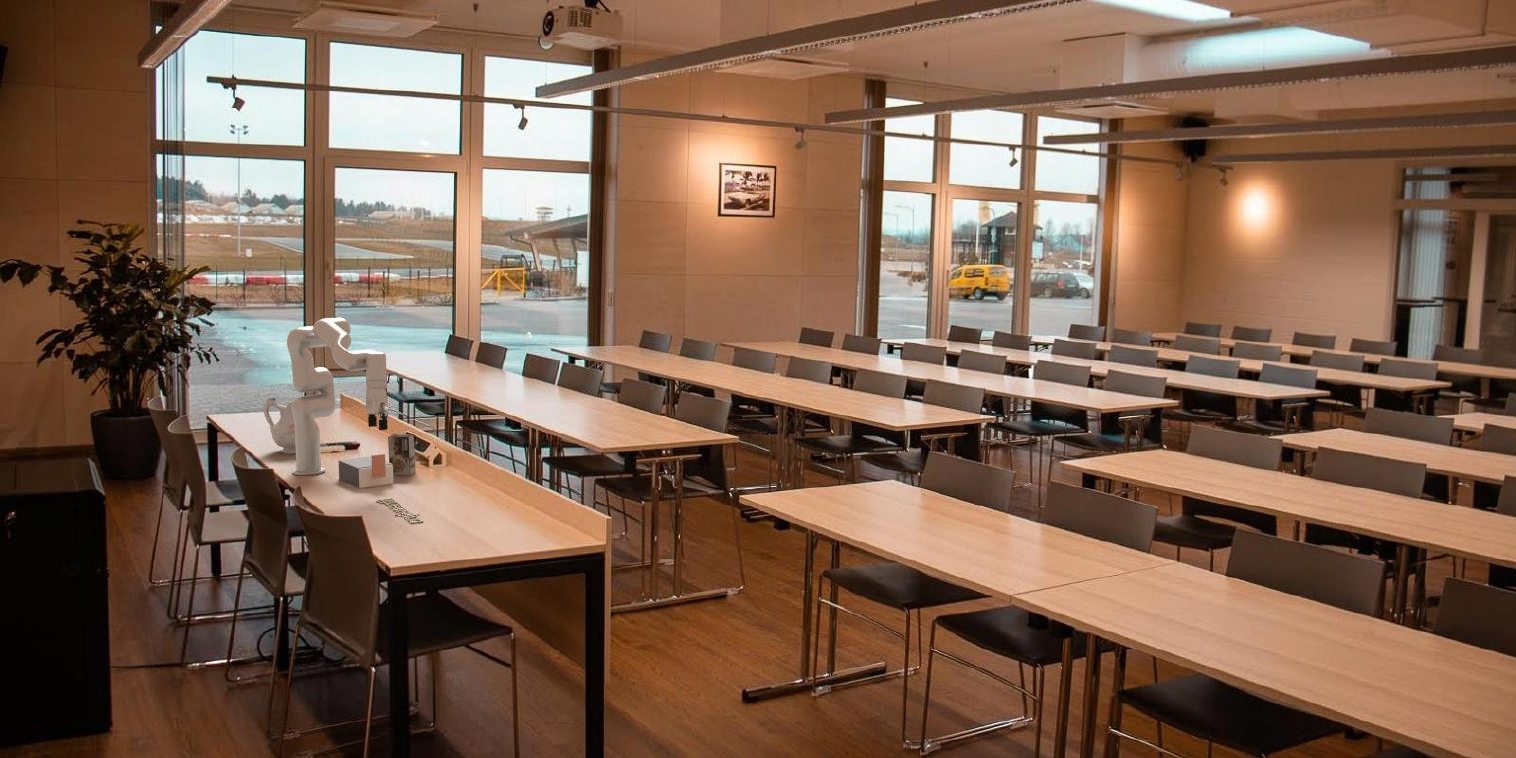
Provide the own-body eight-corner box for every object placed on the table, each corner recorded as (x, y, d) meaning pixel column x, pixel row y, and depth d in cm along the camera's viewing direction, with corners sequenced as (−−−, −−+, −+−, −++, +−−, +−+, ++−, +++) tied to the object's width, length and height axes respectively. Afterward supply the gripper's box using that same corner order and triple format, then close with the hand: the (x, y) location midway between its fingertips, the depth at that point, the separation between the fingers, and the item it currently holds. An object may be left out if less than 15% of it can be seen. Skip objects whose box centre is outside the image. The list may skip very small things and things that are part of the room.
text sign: (396, 499, 447) (374, 502, 443) (396, 497, 447) (374, 499, 443) (428, 522, 414) (405, 525, 410) (428, 520, 414) (405, 523, 409)
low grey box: (339, 480, 478) (338, 460, 477) (373, 475, 487) (372, 456, 486) (358, 488, 464) (357, 468, 463) (392, 483, 473) (392, 463, 472)
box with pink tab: (341, 480, 477) (340, 448, 475) (374, 475, 486) (373, 444, 484) (362, 489, 461) (361, 456, 459) (396, 484, 470) (395, 452, 468)
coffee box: (416, 472, 494) (415, 433, 492) (410, 475, 488) (409, 436, 486) (394, 471, 495) (393, 433, 493) (388, 475, 489) (387, 436, 487)
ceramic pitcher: (273, 459, 522) (273, 403, 517) (259, 449, 536) (259, 395, 532) (323, 454, 535) (323, 400, 531) (308, 444, 550) (308, 391, 545)
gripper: (357, 382, 465) (359, 426, 467) (376, 387, 452) (378, 432, 454) (376, 381, 470) (377, 424, 472) (395, 385, 457) (396, 430, 459)
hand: (377, 428), depth 463 cm, fingers open, 9 cm apart
